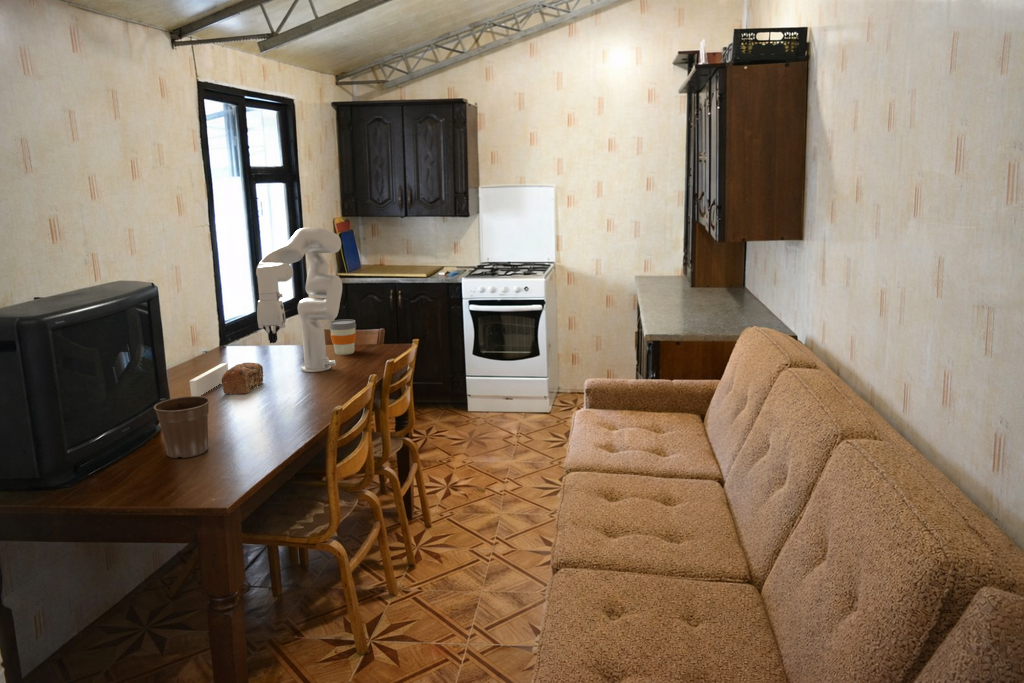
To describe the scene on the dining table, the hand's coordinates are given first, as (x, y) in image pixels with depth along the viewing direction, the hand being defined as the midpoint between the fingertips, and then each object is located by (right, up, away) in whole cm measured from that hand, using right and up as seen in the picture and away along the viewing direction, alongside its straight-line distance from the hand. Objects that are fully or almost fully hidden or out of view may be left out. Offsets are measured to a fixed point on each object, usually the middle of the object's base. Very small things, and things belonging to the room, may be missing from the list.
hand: (273, 342), depth 323 cm
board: (-27, -19, +7) cm, 34 cm away
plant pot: (-7, -35, -68) cm, 76 cm away
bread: (-14, -19, +6) cm, 24 cm away
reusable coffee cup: (+15, -5, +65) cm, 67 cm away
